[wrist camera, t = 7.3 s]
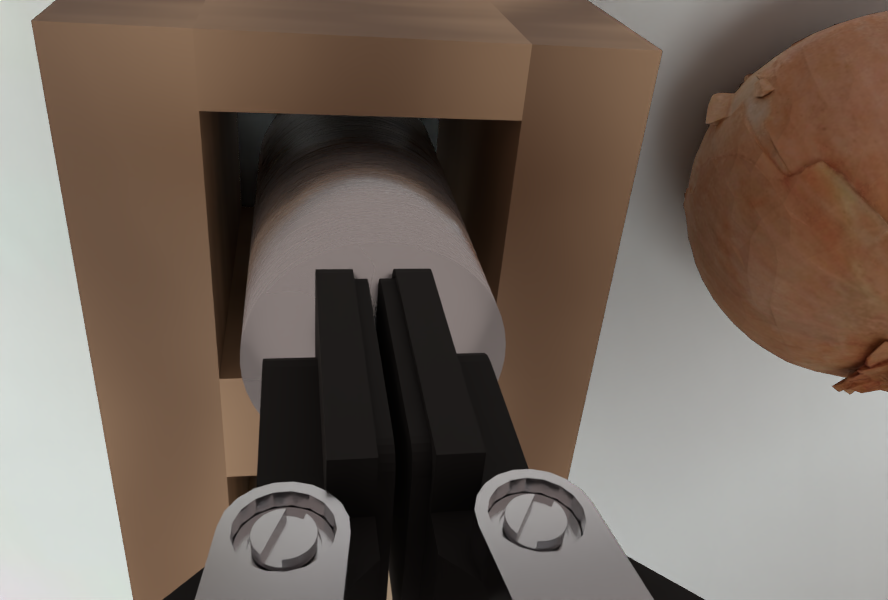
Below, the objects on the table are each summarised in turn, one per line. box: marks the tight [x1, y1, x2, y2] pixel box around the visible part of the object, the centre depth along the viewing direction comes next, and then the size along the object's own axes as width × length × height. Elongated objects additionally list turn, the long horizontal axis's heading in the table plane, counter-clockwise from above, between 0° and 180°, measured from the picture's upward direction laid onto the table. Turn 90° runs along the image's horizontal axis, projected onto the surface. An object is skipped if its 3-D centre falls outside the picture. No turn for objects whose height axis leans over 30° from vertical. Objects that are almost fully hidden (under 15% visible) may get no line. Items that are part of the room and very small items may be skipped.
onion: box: [683, 11, 888, 394], centre depth 20 cm, size 10×9×10 cm
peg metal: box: [240, 113, 506, 414], centre depth 15 cm, size 4×4×8 cm
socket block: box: [31, 0, 662, 600], centre depth 20 cm, size 10×16×8 cm, turn 175°
